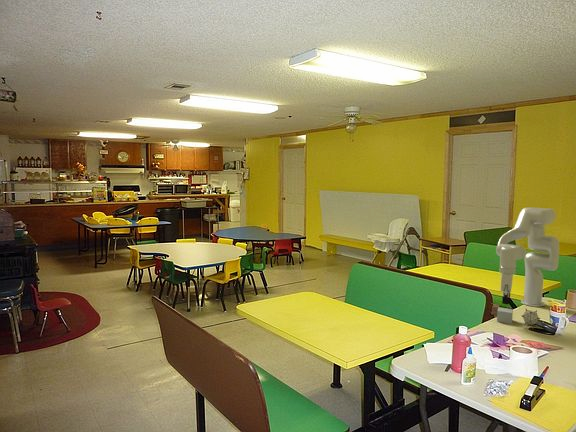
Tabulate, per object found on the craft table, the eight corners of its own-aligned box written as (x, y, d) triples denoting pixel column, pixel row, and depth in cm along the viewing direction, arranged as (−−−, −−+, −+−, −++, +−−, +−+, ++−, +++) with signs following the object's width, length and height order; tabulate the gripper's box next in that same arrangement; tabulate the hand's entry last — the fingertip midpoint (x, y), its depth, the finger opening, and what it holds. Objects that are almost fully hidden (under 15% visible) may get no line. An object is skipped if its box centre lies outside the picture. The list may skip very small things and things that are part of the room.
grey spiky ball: (532, 331, 221) (545, 316, 220) (532, 330, 214) (545, 315, 213) (516, 319, 226) (529, 305, 225) (516, 318, 219) (528, 303, 218)
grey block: (497, 317, 231) (498, 307, 230) (512, 320, 227) (512, 309, 226) (496, 321, 225) (497, 310, 224) (511, 324, 221) (512, 313, 220)
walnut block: (489, 312, 241) (489, 303, 240) (498, 313, 238) (499, 304, 238) (488, 314, 236) (488, 305, 236) (498, 315, 234) (498, 307, 233)
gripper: (500, 266, 232) (499, 296, 234) (498, 273, 218) (497, 305, 220) (516, 267, 229) (514, 297, 231) (514, 274, 214) (513, 307, 216)
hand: (506, 301), depth 225 cm, fingers open, 9 cm apart
